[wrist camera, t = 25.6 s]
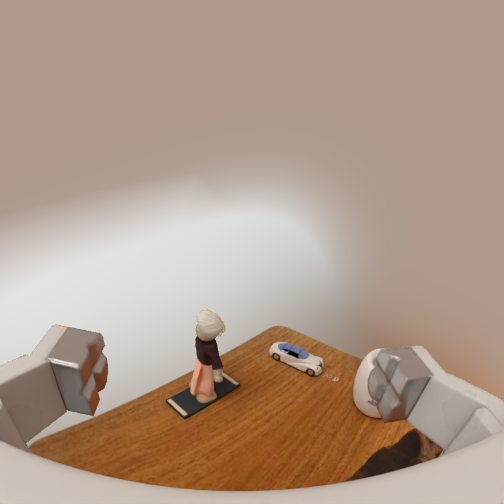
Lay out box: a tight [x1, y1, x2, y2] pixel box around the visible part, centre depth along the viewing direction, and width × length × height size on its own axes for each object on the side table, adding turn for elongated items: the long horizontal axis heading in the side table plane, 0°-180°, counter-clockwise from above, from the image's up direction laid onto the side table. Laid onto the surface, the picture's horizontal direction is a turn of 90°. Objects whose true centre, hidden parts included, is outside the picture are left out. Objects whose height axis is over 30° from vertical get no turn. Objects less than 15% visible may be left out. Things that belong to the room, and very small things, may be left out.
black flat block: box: [166, 371, 240, 419], centre depth 38 cm, size 10×4×1 cm, turn 139°
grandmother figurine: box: [189, 310, 225, 403], centre depth 35 cm, size 8×4×13 cm, turn 38°
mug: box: [353, 349, 382, 418], centre depth 36 cm, size 12×8×8 cm
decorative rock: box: [344, 428, 443, 482], centre depth 21 cm, size 12×6×11 cm, turn 102°
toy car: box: [270, 342, 339, 381], centre depth 46 cm, size 4×12×3 cm, turn 56°
